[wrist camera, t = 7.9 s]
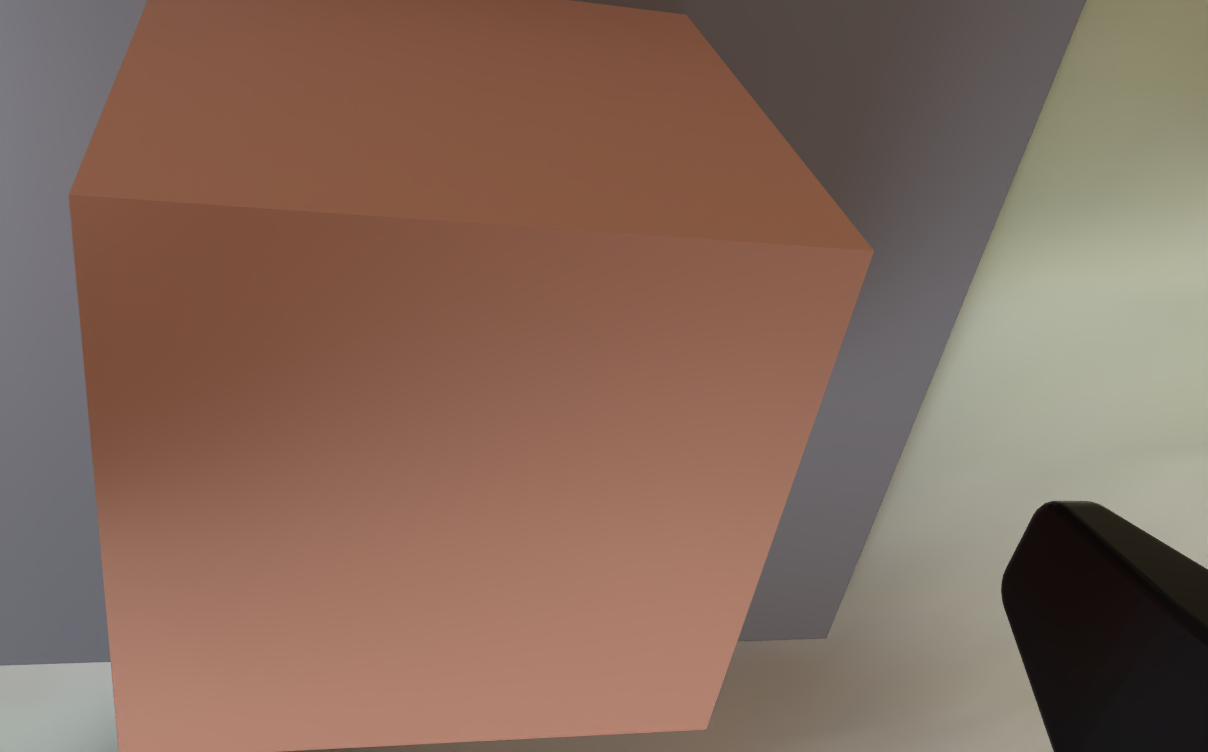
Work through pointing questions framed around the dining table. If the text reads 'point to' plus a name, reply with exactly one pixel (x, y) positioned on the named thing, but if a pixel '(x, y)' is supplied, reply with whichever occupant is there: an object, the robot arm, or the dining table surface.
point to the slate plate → (784, 93)
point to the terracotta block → (440, 368)
